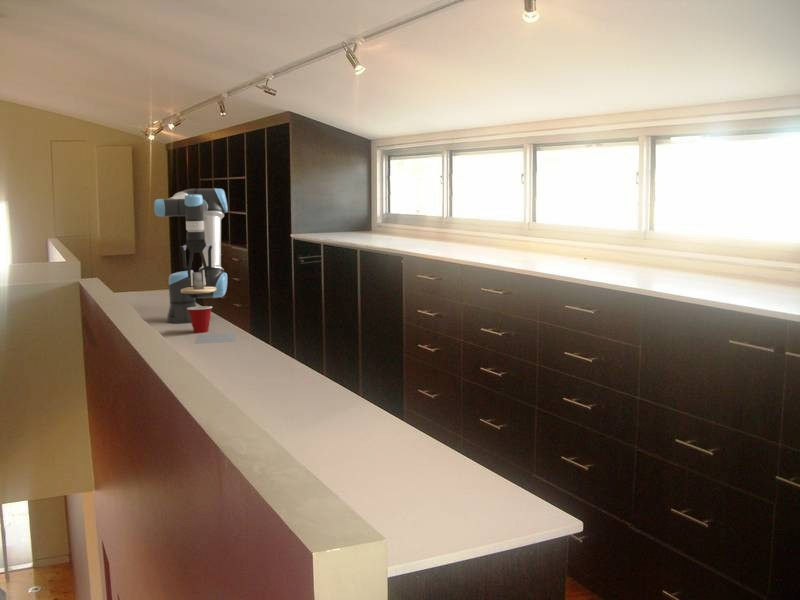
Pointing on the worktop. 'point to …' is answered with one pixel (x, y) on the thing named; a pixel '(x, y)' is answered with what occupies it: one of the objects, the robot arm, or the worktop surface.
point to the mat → (216, 338)
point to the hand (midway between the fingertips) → (198, 285)
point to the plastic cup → (200, 318)
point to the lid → (198, 285)
